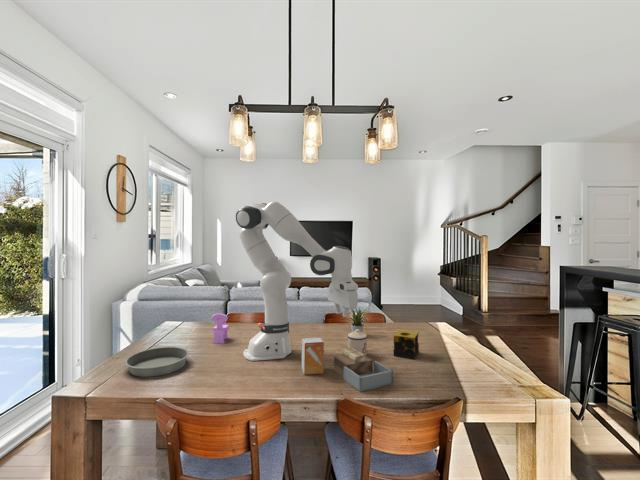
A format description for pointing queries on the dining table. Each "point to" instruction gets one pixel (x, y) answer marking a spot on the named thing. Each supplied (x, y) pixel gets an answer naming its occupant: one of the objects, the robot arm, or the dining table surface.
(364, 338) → the teacup with lid
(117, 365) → the dining table surface
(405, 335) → the candle
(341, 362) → the brown and beige block
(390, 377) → the tray
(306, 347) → the small box
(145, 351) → the cake pan
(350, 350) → the rear tile
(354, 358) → the front tile
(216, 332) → the toy chair
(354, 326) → the house plant
